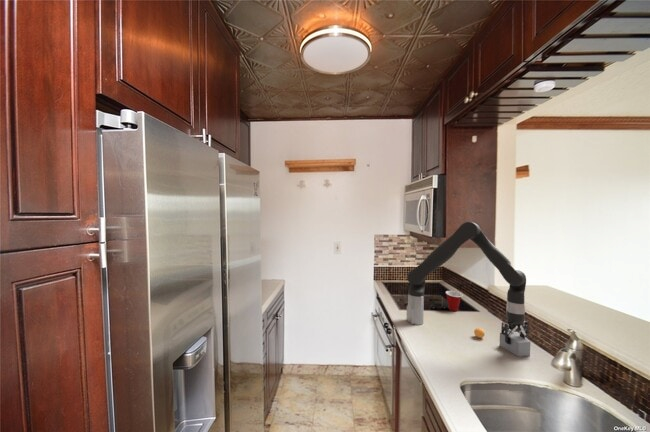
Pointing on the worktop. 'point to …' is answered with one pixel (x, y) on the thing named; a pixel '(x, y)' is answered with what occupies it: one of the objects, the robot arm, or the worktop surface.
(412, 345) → the worktop surface
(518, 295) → the robot arm
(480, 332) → the ball
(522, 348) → the grey rectangular brick
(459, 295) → the plastic cup
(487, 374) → the worktop surface
